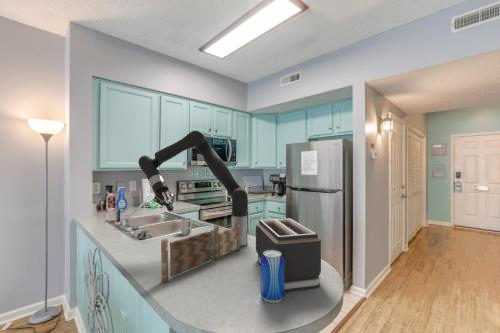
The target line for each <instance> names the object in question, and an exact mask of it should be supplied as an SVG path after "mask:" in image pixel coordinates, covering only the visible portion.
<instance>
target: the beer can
mask: <svg viewBox="0 0 500 333" xmlns="http://www.w3.org/2000/svg"><path fill="white" fill-rule="evenodd" d="M260 296H261V297H262V298H263V300H264V301H265V302H267V303H269V302H270V303H271V304H276V303H281V301H282V300H283V298H284V297H285V292H284V258H283V257H282V254H281V252H280V251H277V250H267V251H264V252H263V256H262V257H261V266H260Z"/></svg>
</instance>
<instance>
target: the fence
mask: <svg viewBox="0 0 500 333" xmlns="http://www.w3.org/2000/svg"><path fill="white" fill-rule="evenodd" d="M213 230H214V260H215V261H218V260H220V257H222V256H224V255H227V254H230V253H231V252H233V251H235V252H239V251H240V250H241V249H240V247H241V246H240V234H239V219H235V227H233V228H232V227H231V228H228V229H224V230H222V231H220V225H219V224H214V225H213ZM160 247H161V248H160V249H161V250H160V253H161V255H160V257H161V258H160V260H161V262H160V263H161V283H162V284H166V283H169V239H167V238H165V239H161V240H160Z"/></svg>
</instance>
